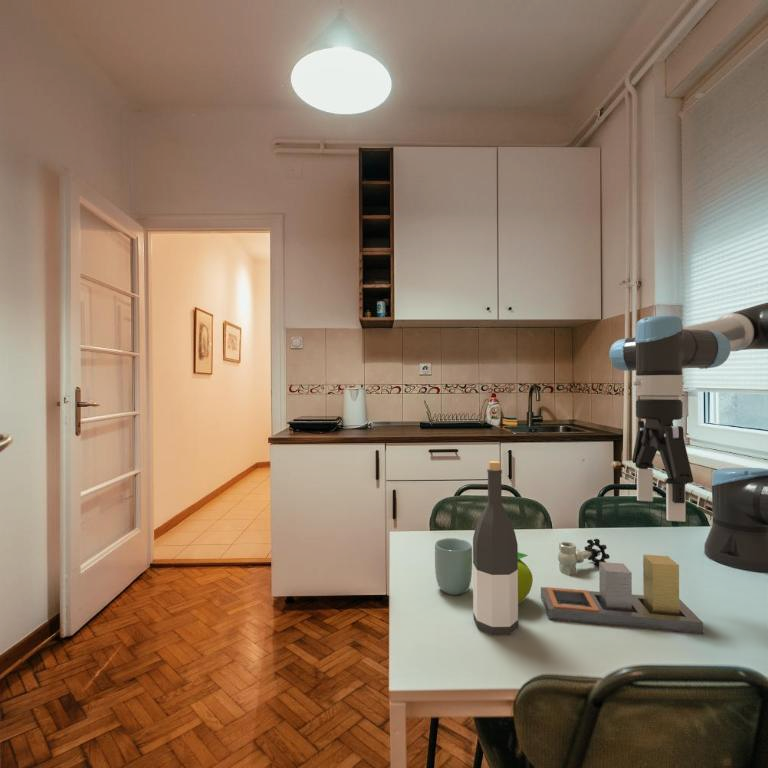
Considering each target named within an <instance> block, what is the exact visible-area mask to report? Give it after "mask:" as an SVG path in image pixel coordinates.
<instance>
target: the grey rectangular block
mask: <svg viewBox="0 0 768 768" xmlns="http://www.w3.org/2000/svg"><path fill="white" fill-rule="evenodd" d="M598 567H599V568H598V570H599V572H598V573H599V574H598V576H599V580H598V581H599V586H598V587H599V592H600V605H601V607H602V608H603V610H612V611H624V612H632V595H633V594H632V593H633V590H632V589H633V586H632V585H633V584H632V581H633V580H632V579H633V576H632V575H633V574H632V571H631V570H630V569H629V568H628V567H627V566H626V565H625V564H624V563H622V562H621V563H620V562H619V563H618V562H607V561H606V562H599V566H598Z"/></svg>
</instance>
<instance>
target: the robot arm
mask: <svg viewBox="0 0 768 768" xmlns="http://www.w3.org/2000/svg"><path fill="white" fill-rule="evenodd" d="M744 350H745V351H746V350H768V302H764V303H760V304H757V305H753V306H750V307H746V308H743V309H740V310H737V311H734V312H730V313H726V314H723V315H721V316H719V317H718V318H717V319H715V320H711V321H707V322H702V323H698V324H693V325H688V326H683V320H682V318H681V317H680V316H677V315H655V316H647V317H643V318H641V319H639V320H638V321H637V322H636V326H635V336H634V337H625V338H621V339H618V340H616V341H614V343H612V345H611V346H610V350H609V352H608V353H609V355H608V356H609V359H610V362H611V365H612V366H613V367H614V368H615V369H617V370H618V371H623V372H624V371H626V372H627V371H629V372H633V371H635V379H636V380H634V381H633V385H634V386H635V388H636V389H635V395H636V396H637V397H639V398H637V400H635V417H637V418H638V419H644V420H638V421H637V432H636V433H637V434H636V437H635V438H636V439H635V442H634V443H635V444H634V449H633V453H632V459H631V461H632V463H633V464H635V467H636V500H637V501H638V502H653V501H654V484H653V483H654V479H653V477H654V474H653V473H654V470H653V469H655V467H654V464H653V462H654V459H655V456H656V454H657V452H659V454H660V457H661V460H662V464H663V467H664V469H665V473H666V475H667V478H666V479H665V481H664V483H665V492H666V493H665V494H666V495H665V496H666V497H665V498H666V501H665V502H666V503H665V504H666V505H665V506H666V516H665V517H666V518H665V519H666V520H667V521H669V522H670V521H671V522H686V485H688V484H689V483H690V484H692V483H693V482H694V478H693V473H692V468H691V465H690V460H689V454H688V451H687V446H686V442H685V436H684V427H683V426H679V425H676V426H674V421H679V420H681V419H683V417H684V416H683V406H684V405H683V404H684V403H683V401H682V399H680V397H683V395H684V385H683V383H684V381H683V380H684V379H683V378H684V376H683V369H702V370H703V369H706V370H707V369H712V368H713V369H714V368H718V367H719V366H722V365H723V364H724V363H725V362H726V361H727V360H728V358H729V357H730V355H731V352H738V351H744ZM711 499H712V501H711V509H712V514H711V515H712V525H711V528H710V530H709V533H708V535H707V537H706V539H705V541H704V548H703V549H704V551H703V552H704V555H705V556H706V557H708V558H709V559H711V560H713V561H715V562H717V563H720V564H723V565H725V566H728V567H732V568H737V569H742V570H745V571H746V570H747V571H753V572H763V573H765V572H766V573H767V572H768V468H765V467H764V468H763V467H762V468H760V467H729V468H728V467H725V468H718V469H715V470H714V471H713V473H712V477H711Z"/></svg>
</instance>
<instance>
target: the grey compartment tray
mask: <svg viewBox="0 0 768 768" xmlns="http://www.w3.org/2000/svg"><path fill="white" fill-rule="evenodd" d="M540 599H541V602H542V604H543V607H544V610H545V613H546V615H547V619H548V620H550V621H551V620H553V621H563V622H573V623H574V622H575V623H582V624H583V623H585V624H595V625H606V626H616V627H617V626H618V627H625V626H626V628H637V629H638V628H639V629H648V630H658V631H659V630H660V631H671V632H681V633H688V634H689V633H690V634H704V621H702V620H701V619H700V618H699V617H698V616H697V614H695V613H694V612H693V611H692V610H691V609H690V608H689V607H688V606H687V604H685V603H684V602H683V601H682V600H681V599H680V598H679V616H670V615H658V614H650V613H649V612H648V611H647V609H646V608H645V607H644V594H632V612H624V611H612V610H603V608H602V607H601V605H600V591H593V590H586V589H585V590H583V589H574V588H562V587H561V588H560V587H543V586H541V587H540ZM558 602H559V603H558ZM560 603H570V604H560ZM571 603H572V604H582V605H572V604H571Z"/></svg>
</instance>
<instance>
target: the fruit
mask: <svg viewBox="0 0 768 768" xmlns="http://www.w3.org/2000/svg"><path fill="white" fill-rule="evenodd" d="M525 557H528V554H525V553H521V552H518V605H519V604H520V603H522V602H523V601H524V600H525V599H526V598H527V596H528V595H530V594H529V593H530V591H531V590H532V586H533V573H532V571H531V569H530V568H529V566H528V565H527V564H526V563H525V562H524V561H522V559H523V558H525Z"/></svg>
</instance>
